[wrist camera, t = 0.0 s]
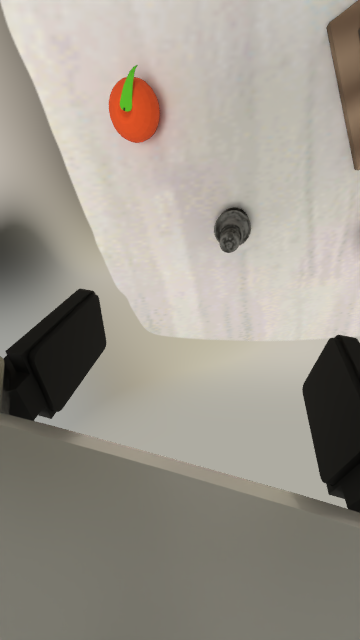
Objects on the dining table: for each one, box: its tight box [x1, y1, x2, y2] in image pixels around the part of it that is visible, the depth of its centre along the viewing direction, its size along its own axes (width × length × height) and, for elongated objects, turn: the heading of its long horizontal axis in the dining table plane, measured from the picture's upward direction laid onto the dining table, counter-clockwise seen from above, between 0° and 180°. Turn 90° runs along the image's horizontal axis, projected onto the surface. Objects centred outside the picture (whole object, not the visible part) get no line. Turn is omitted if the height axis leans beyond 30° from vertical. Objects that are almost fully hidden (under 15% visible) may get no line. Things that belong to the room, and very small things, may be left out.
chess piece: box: [214, 208, 251, 253], centre depth 37 cm, size 6×6×12 cm
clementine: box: [109, 65, 160, 143], centre depth 33 cm, size 8×7×7 cm
